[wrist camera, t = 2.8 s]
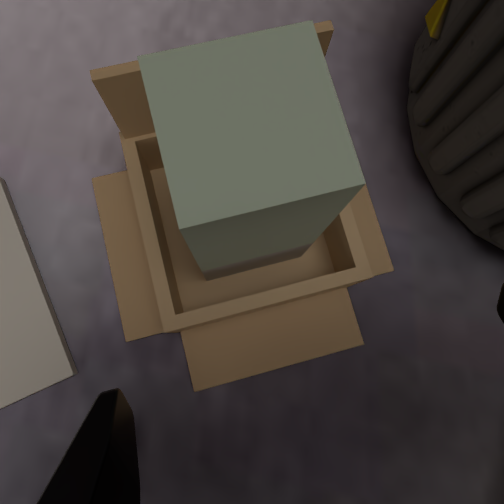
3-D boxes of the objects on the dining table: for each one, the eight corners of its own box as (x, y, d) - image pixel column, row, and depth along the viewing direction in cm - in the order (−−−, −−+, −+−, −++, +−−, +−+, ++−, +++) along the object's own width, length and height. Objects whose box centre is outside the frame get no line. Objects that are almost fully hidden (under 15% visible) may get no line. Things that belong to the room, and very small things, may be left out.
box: (300, 256, 22) (365, 183, 11) (206, 281, 21) (178, 229, 11) (275, 168, 23) (312, 19, 12) (184, 190, 22) (137, 56, 11)
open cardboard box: (411, 330, 22) (520, 329, 14) (141, 406, 21) (77, 456, 12) (342, 119, 24) (399, 5, 16) (92, 177, 23) (10, 86, 14)
